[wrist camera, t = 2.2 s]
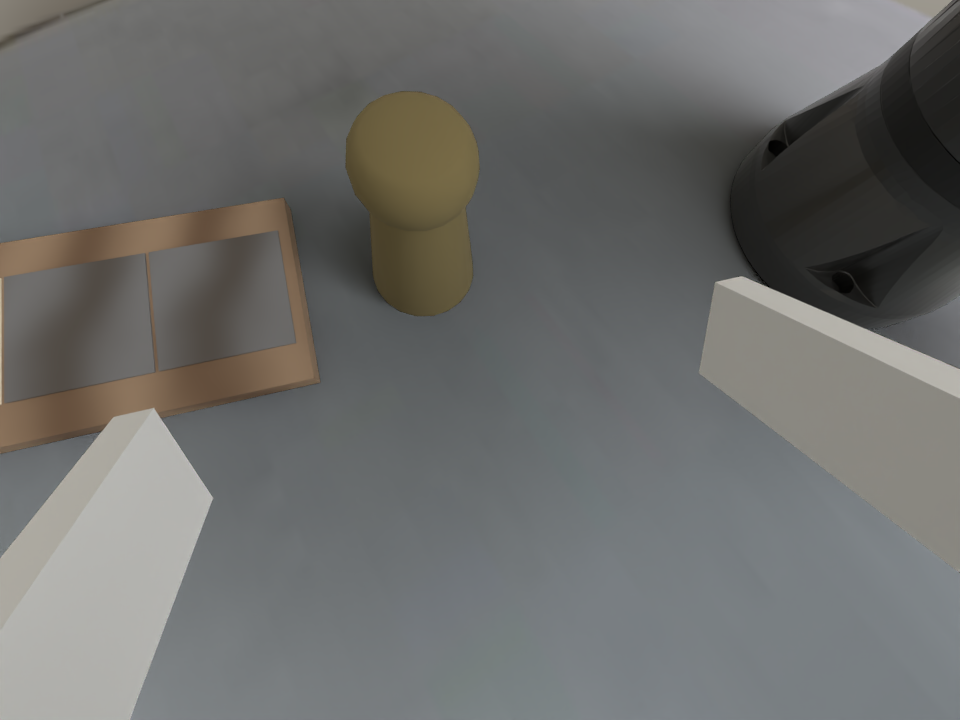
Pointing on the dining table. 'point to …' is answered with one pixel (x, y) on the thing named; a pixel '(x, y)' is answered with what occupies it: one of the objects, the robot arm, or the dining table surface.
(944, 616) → the dining table surface
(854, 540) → the dining table surface
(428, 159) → the cork
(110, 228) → the brown frame
